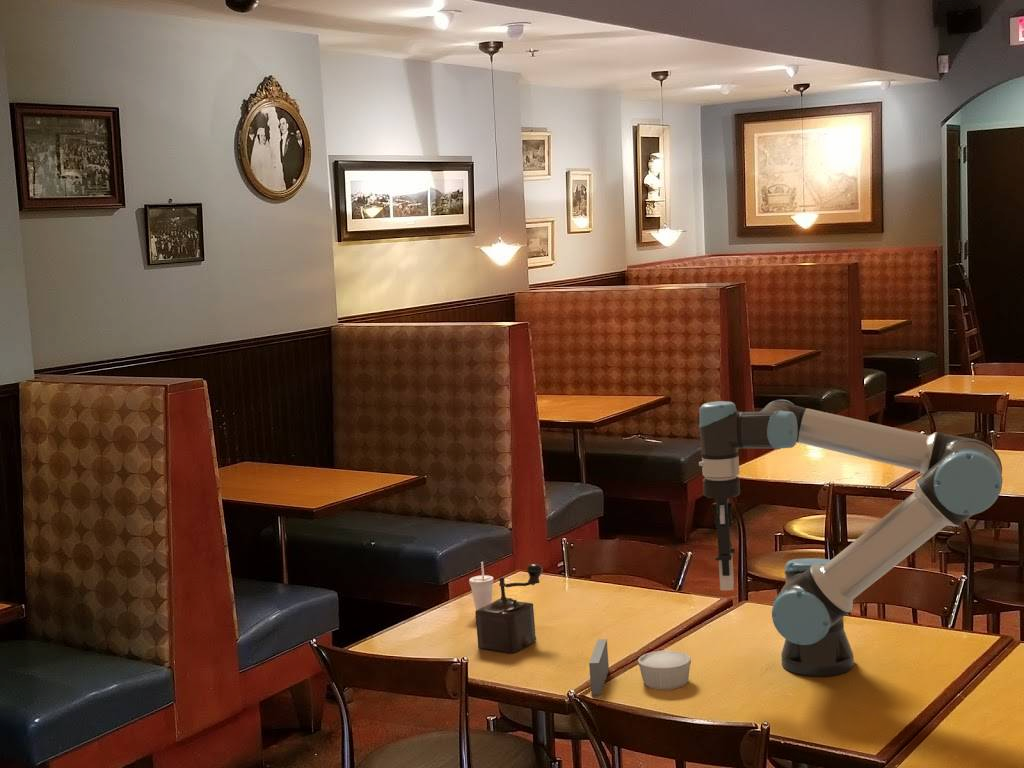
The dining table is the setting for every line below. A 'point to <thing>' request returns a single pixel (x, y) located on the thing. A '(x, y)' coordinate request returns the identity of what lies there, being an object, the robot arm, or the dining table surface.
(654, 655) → the ramekin
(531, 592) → the dining table surface
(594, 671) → the board
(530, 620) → the coffee grinder
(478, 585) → the smoothie
